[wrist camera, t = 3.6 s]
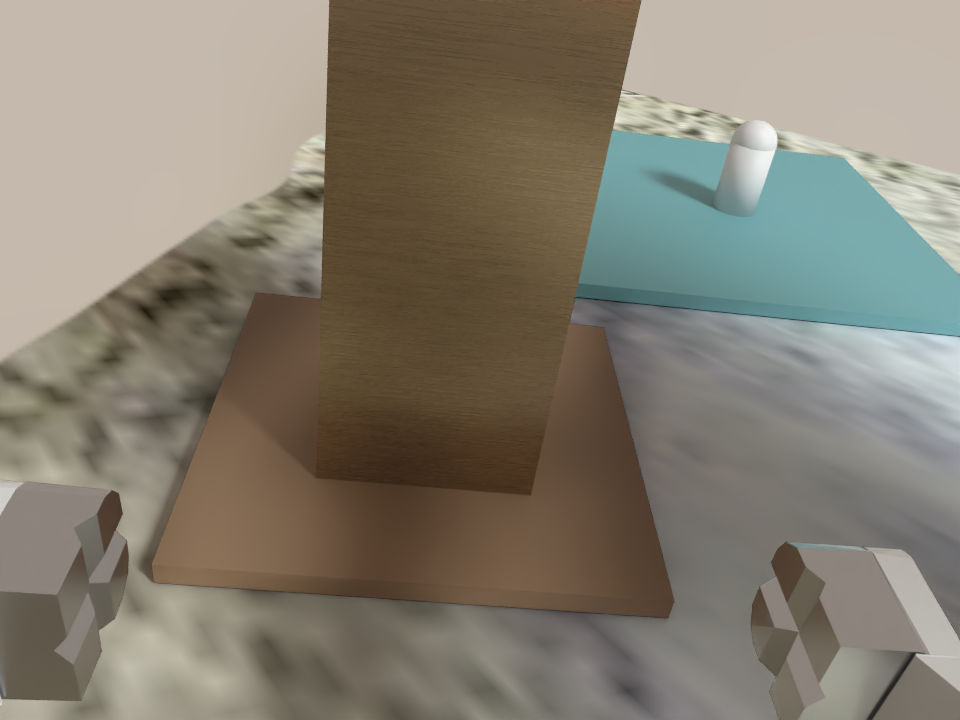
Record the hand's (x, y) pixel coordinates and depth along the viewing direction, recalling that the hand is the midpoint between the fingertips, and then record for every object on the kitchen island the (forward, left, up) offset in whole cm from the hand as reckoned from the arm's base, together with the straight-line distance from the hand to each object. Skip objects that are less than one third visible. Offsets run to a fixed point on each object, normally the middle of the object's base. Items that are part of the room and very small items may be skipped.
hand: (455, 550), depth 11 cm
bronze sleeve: (0, -12, -7) cm, 14 cm away
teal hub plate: (-14, -30, -8) cm, 34 cm away
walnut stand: (0, -12, -8) cm, 14 cm away
